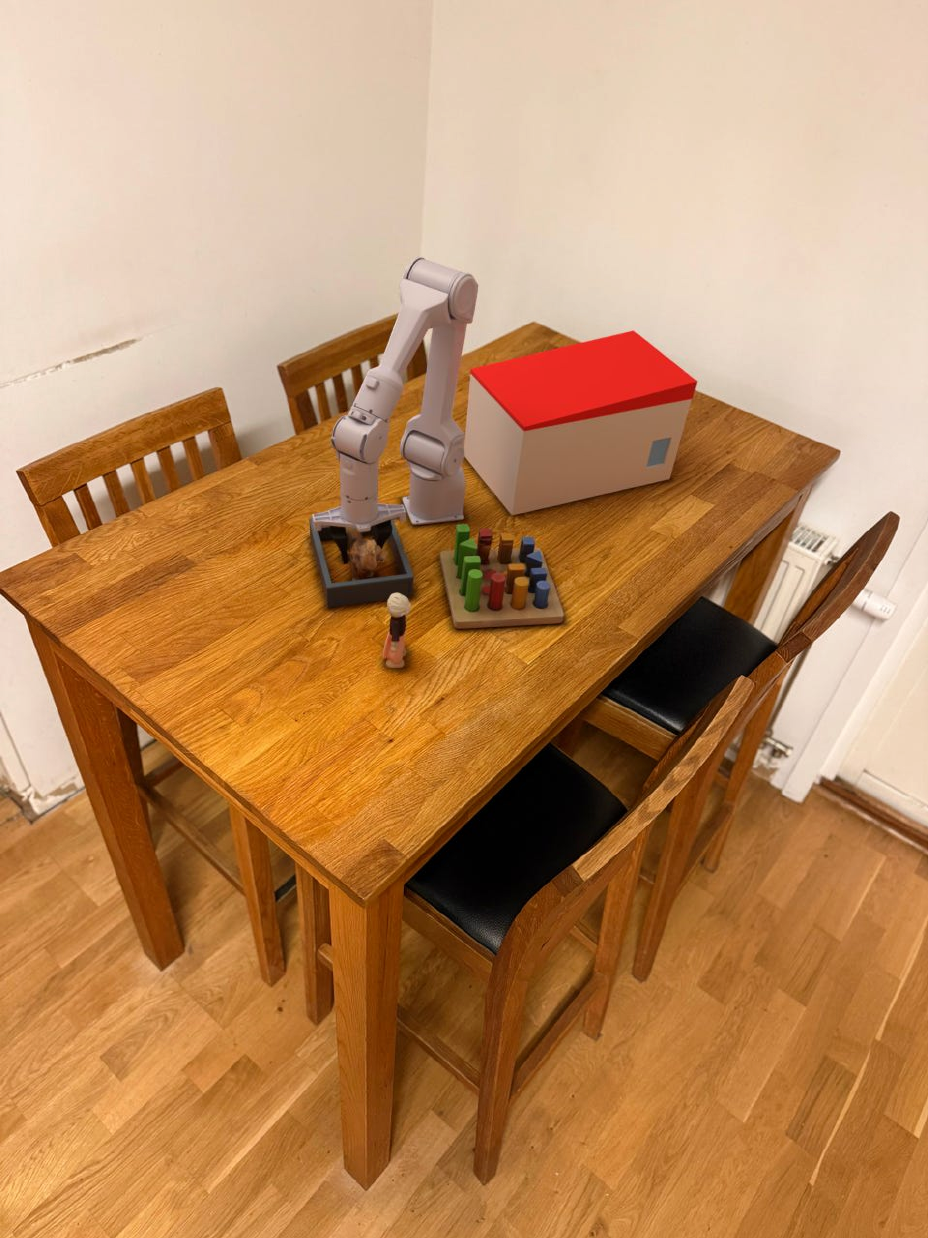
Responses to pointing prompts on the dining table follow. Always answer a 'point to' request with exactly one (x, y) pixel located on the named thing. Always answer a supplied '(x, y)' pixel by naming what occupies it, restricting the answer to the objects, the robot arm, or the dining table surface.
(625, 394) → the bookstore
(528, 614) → the peg board
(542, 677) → the dining table surface
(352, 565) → the lion figurine
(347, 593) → the crate
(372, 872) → the dining table surface
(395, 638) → the grandmother figurine
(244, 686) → the dining table surface
